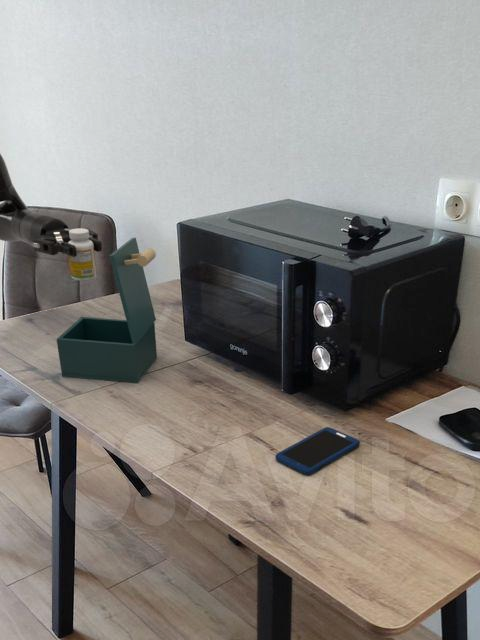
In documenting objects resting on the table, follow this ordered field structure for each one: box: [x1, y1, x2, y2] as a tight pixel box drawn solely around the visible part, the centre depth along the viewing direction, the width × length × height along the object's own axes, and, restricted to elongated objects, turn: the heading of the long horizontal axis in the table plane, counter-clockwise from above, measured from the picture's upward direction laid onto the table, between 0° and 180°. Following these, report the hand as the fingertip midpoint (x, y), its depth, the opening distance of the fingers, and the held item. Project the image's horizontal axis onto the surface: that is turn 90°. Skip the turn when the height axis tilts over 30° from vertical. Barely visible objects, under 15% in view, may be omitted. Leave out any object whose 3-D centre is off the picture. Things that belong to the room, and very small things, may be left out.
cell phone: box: [274, 426, 361, 475], centre depth 115 cm, size 7×14×1 cm, turn 137°
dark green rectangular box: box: [55, 316, 158, 384], centre depth 141 cm, size 16×13×8 cm
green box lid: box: [108, 237, 157, 343], centre depth 133 cm, size 16×13×5 cm
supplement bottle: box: [67, 227, 98, 282], centre depth 148 cm, size 5×5×10 cm
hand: (87, 249), depth 145 cm, fingers closed on supplement bottle, 5 cm apart
